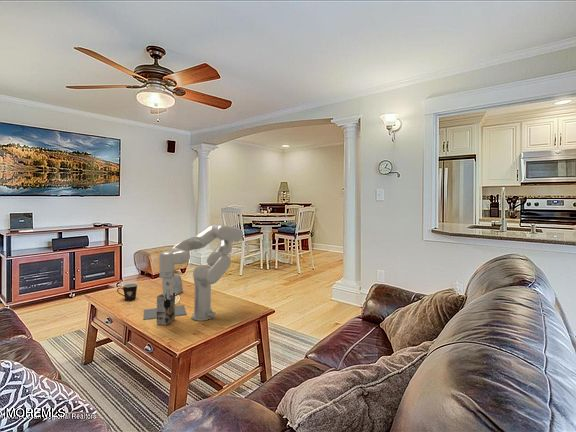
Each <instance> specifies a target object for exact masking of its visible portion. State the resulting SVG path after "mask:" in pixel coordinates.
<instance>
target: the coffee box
mask: <svg viewBox="0 0 576 432" xmlns="http://www.w3.org/2000/svg"><path fill="white" fill-rule="evenodd" d="M175 306H176V295H175V293H173V296H171V295H170V307H168V308H164V296H163V293H161V294H159V295H157V296H156V308H157V318H156V325H163V326H168V324H170V323H171V322H173V321H174V320H175V319H176V316H175Z"/></svg>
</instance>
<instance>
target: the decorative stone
mask: <svg viewBox="0 0 576 432" xmlns="http://www.w3.org/2000/svg"><path fill="white" fill-rule="evenodd" d="M182 280H183V279H182V276H181V275H180V274H179V273H178V274H177V273H174V277H173V293H175V294H177V295H180V294H182V293H183V290H184V289H183V281H182Z"/></svg>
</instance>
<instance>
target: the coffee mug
mask: <svg viewBox="0 0 576 432" xmlns="http://www.w3.org/2000/svg"><path fill="white" fill-rule="evenodd" d="M122 286H123V287H118V288H117V289H116V292H117V293H118V294H119V295H120V296H123V297H124V301H125V302H133V301H136V299H137V291H138V289H137V288H138V283H127V284H123V285H122ZM120 289H122V291H123V293H124V294H122V293H120V292H119V290H120Z"/></svg>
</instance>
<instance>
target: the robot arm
mask: <svg viewBox="0 0 576 432" xmlns="http://www.w3.org/2000/svg"><path fill="white" fill-rule="evenodd" d="M243 233H244V232H243V231H242V229H240V228H236V227H231V226H229V225H228V226H227V225H225V224H218V223H213V224H210V225H208V226H207V227H206V228H204V229H203V230H202V231H200V232H199V233H197V234H196V235H193V236H191V237H189V238H187V239H183V240H182V241H179V243H177V244H175V245H174V246H173V247H172V248H170V249H169V250H164V251H161V252H160V253H159V279H161V289H162V294H163V296H164V308H168V307H170V295H171V296H173V277H174V274H175V265H184V264H187V263H188V262H189V261H190V259H191V255H190V251H194V250H200V249H204V248H205V247H207V246H208V245H209V244H211V243H212V242H213V241H215V240H216V239H218V240H220V241H219V243H218V245H217V247H216V248H215V249H214V250H213V251H212V252H211V253H210V254H209V255H208V256H207V259H206V263H207V265H206V264H199V265H196V267H195V268H194V269H193V272H192V273H193V274H192V278H193V283H194V308H193V310H194V313H192V315H191V319H192V320H194V321H199V322H201V321H203V322H204V321H208V319H209V320H211V319H212V318H215V317H216V314H217V312H215V311H213V308H211V307H212V305H211V304H212V300H211V299H212V285H214V284H216V283H217V282H219V280H220V279H221V278H222V277H223V276H224V274H225V273H226V272H227V270H229V269H230V266H231V263H232V260H231V257H230V256H229V255H230V253H231V251H232V247H233V246H232V243H233V242H234V243H237V242H240V241H241V240H242V239H243V236H244V234H243Z"/></svg>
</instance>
